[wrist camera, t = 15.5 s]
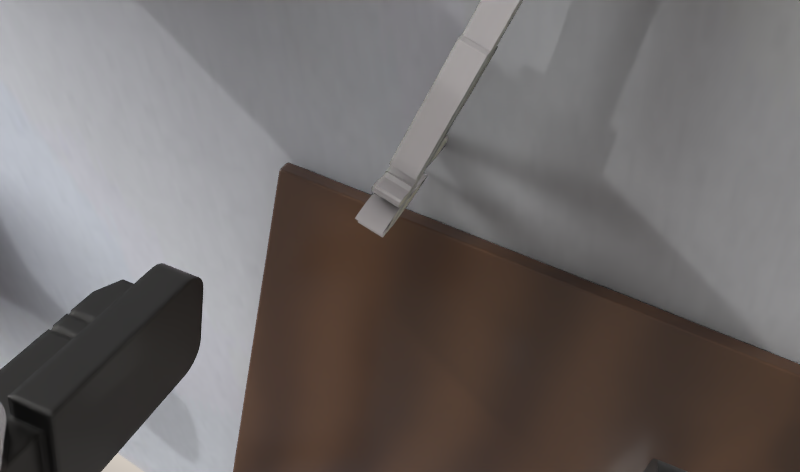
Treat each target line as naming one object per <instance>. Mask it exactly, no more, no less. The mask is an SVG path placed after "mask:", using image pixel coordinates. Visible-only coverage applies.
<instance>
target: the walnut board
mask: <svg viewBox="0 0 800 472" xmlns="http://www.w3.org/2000/svg"><path fill="white" fill-rule="evenodd" d="M371 196H372V195H370V194H367V193H365V192H362V191H360V190H357V189H354V188H352V187H349V186H347V185H344V184H342V183H339V182H337V181H334V180H332V179H329V178H327V177H324V176H322V175H319V174H317V173H314V172H311V171H309V170H306V169H304V168H301V167H299V166H296V165H294V164H291V163H287V164H285V165H284V166H283V167H282V168H281V169H280V171H279V177H278V184H277V190H276V197H275V203H274V210H273V216H272V223H271V229H270V236H269V242H268V249H267V255H266V262H265V268H264V275H263V281H262V288H261V294H260V301H259V307H258V314H257V320H256V327H255V333H254V340H253V346H252V353H251V359H250V366H249V372H248V379H247V385H246V391H245V398H244V404H243V411H242V417H241V424H240V430H239V437H238V443H237V450H236V456H235V463H234V469H233V472H644V470H645V469H646V467H647V466H648V464H649V463H650V461H651V460H652V459H657V460H660V461H662V462H665V463H667V464H670V465H672V466H675V467H678V468H680V469H683V470H685V471H688V472H800V364H797V363H795V362H792V361H790V360H787V359H785V358H782V357H780V356H777V355H775V354H772V353H770V352H767V351H765V350H762V349H759V348H757V347H754V346H752V345H749V344H747V343H744V342H742V341H739V340H737V339H734V338H732V337H729V336H727V335H724V334H722V333H719V332H716V331H714V330H711V329H709V328H706V327H704V326H701V325H699V324H696V323H694V322H691V321H689V320H686V319H684V318H681V317H678V316H676V315H673V314H671V313H668V312H666V311H663V310H661V309H658V308H656V307H653V306H651V305H648V304H646V303H643V302H641V301H638V300H635V299H633V298H630V297H628V296H625V295H623V294H620V293H618V292H615V291H613V290H610V289H608V288H605V287H603V286H600V285H597V284H595V283H592V282H590V281H587V280H585V279H582V278H580V277H577V276H575V275H572V274H570V273H567V272H565V271H562V270H560V269H557V268H554V267H552V266H549V265H547V264H544V263H542V262H539V261H537V260H534V259H532V258H529V257H527V256H524V255H522V254H519V253H516V252H514V251H511V250H509V249H506V248H504V247H501V246H499V245H496V244H494V243H491V242H489V241H486V240H484V239H481V238H479V237H476V236H473V235H471V234H468V233H466V232H463V231H461V230H458V229H456V228H453V227H451V226H448V225H446V224H443V223H441V222H438V221H435V220H433V219H430V218H428V217H425V216H423V215H420V214H418V213H415V212H413V211H410V210H408V209H404V211H403V212H402V214H401V215H400V216H399V218H398V219H397V221H396V222H395V223H394V224H393V226H392V227H391V228H390V229H389V231H388V232H387V233H386V234H385V235H384V237H381V236H379V235H378V234H376V233H374V232H373V231H371V230H370V229H368V228H366V227H365V226H363V225H361V224H360V223H358V220H356V219H355V218H356V216H357V214H358V213H359V211H360V210H361V209H362V207H363V206H364V205H365V203H366V202H367V201H368V199H369V198H370V197H371Z"/></svg>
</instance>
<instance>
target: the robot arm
mask: <svg viewBox="0 0 800 472" xmlns="http://www.w3.org/2000/svg"><path fill="white" fill-rule="evenodd" d="M202 303H203V282H202V280H201V279H200V278H199V277H196V276H194V275H191V274H189V273H186V272H183V271H181V270H178V269H176V268H173V267H171V266H168V265H166V264H162V263H161V264H157V265H156V266H154V267H153V268H152V269H150V270H149V271H148V272H147V273H146V274H145V275H144V276H143V277H141V278H140V279H139V280H138V281H137V282H136V283H135V284H133V283H130V282H128V281H125V280H120V281H118V282H116V283H113V284H111V285H108V286H106V287H103V288H101V289H99V290H96V291H94V292H92V293H91V294H90V295H89V296H88V297H86V298H85V299H84V300H83V301H82V302H80V303H79V304H78V305H77V306H76V307H74V308H73V309H72V310H71V313H70V314H69V315H68V314H66V315H65V316H64V317H63V318H61V319H60V320H59V321H58V322H57V323H55V324H54V325H53V328H52V329H51V330H49V329H48V330H47V331H46V332H45V333H43V334H42V335H41V336H40V337H39V338H37V339H36V340H35V341H34V342H33V343H32V344H30V345H29V346H28V347H27V348H26V349H24V350H23V351H22V352H21V353H20V354H18V355H17V356H16V357H15V358H14V359H12V360H11V361H10V362H9V363H8V364H7V365H5V366H4V367H3V368H2V369H1V370H0V472H101V471H102V470H103V469H104V468H105V466H106V465H107V464H108V463H109V462H110V461H111V460H112V458H113V457H114V456H115V455H116V454H117V453H118V452H119V450H120V449H121V448H122V447H123V446H124V445H125V444H126V442H127V441H128V440H129V439H130V438H131V437H132V436H133V434H134V433H135V432H136V431H137V430H138V429H139V428H140V426H141V425H142V424H143V423H144V422H145V421H146V419H147V418H148V417H149V416H150V415H151V414H152V413H153V411H154V410H155V409H156V408H157V407H158V406H159V405H160V403H161V402H162V401H163V400H164V399H165V398H166V396H167V395H168V394H169V393H170V392H171V391H172V390H173V388H174V387H175V386H176V385H177V384H178V383H179V382H180V380H181V379H182V378H183V377H184V376H185V375H186V373H187V372H188V371H189V369H190V368H191V366H192V364H193V362H194V360H195V358H196V356H197V353H198V350H199V346H200V341H201V323H202ZM644 472H688V471H685V470H683V469H680V468H678V467H675V466H672V465H670V464H667V463H665V462H662V461H660V460H657V459H652V460H651V461H650V463H649V464H648V466H647V467H646V469H645V470H644Z"/></svg>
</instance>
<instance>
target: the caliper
mask: <svg viewBox="0 0 800 472" xmlns="http://www.w3.org/2000/svg"><path fill="white" fill-rule="evenodd" d="M522 1H523V0H481V1H480V3H479V5H478V7H477V8H476V10H475V12H474V14H473V16H472V17H471V19H470V21H469V23H468V25H467V26H466V28H465V30H464V32H463V34H462V35H461V36H460V37H459V38H458V40H457V42H456V43H455V45H454V47H453V49H452V51H451V52H450V54H449V56H448V58H447V60H446V61H445V63H444V65H443V67H442V69H441V71H440V72H439V74H438V76H437V78H436V80H435V81H434V83H433V85H432V87H431V89H430V90H429V92H428V94H427V96H426V98H425V100H424V101H423V103H422V105H421V107H420V109H419V110H418V112H417V114H416V116H415V118H414V119H413V121H412V123H411V125H410V127H409V129H408V130H407V132H406V134H405V136H404V138H403V139H402V141H401V143H400V145H399V147H398V148H397V150H396V152H395V154H394V156H393V158H392V159H391V161H390V163H389V164H390V166H389V168H388V170H387V171H386V172H385V174H384V175H383V177H381V178H380V179H379V180H378V181H377V182H376V183H375V184H374V185H373V187H372V192H373V193H374V194H373V195H372V196H371V197H370V198H369V199H368V201H367V202H366V203H365V205H364V206H363V207H362V209H361V210H360V211H359V213H358V214H357V216H356V218H355V219H356V220H358V223H360V224H361V225H363V226H365V227H366V228H368V229H370V230H371V231H373V232H374V233H376V234H378V235H379V236H381V237H384V235H385V234H386V233H387V232H388V231H389V229H390V228H391V227H392V226H393V224H394V223H395V222H396V221H397V219H398V218H399V216H400V215H401V214H402V212H403V211H404V209H405V208H406V207H407V205H408V204H409V202H410V201H411V200H412V198H413V197H414V195H415V194H416V193H417V191H418V190H419V188H420V187H421V185H422V184H423V182H424V180H425V179H426V177H427V175H426V174H424V171H425V169H426V168H427V166H428V165H429V164H430V163H431V162H432V161H433V160H434V159H435V158H436V156H437V155H438V154H439V152H440V151H441V150H442V149H443V148H444V146H445V144H446V142H447V140H448V137H447V135H446V134H447V133H448V131H449V129H450V127H451V126H452V124H453V122H454V120H455V119H456V117H457V115H458V114H459V112H460V111H461V109H462V107H463V106H464V104H465V102H466V101H467V99H468V97H469V96H470V94H471V92H472V91H473V89H474V87H475V86H476V84H477V82H478V80H479V78H480V77H481V75H482V73H483V71H484V70H485V68H486V66H487V65H488V63H489V61H490V60H491V58H492V56H493V54H494V53H495V51H496V49H497V47H498V46H497V45H498V43H499V41H500V40H501V38H502V36H503V34H504V33H505V31H506V29H507V27H508V26H509V24H510V22H511V21H512V19H513V17H514V15H515V14H516V12H517V10H518V8H519V7H520V5H521V3H522Z"/></svg>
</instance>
